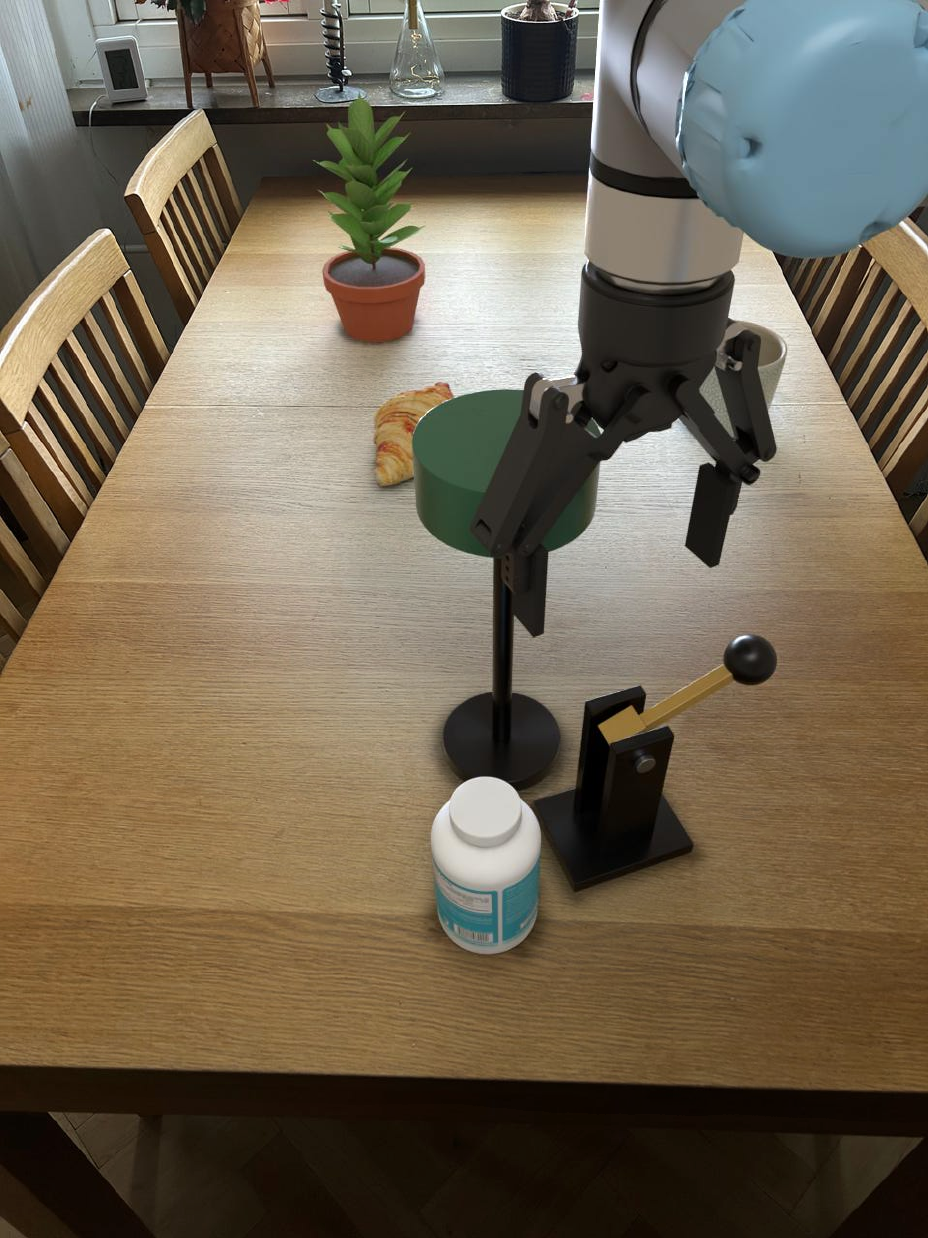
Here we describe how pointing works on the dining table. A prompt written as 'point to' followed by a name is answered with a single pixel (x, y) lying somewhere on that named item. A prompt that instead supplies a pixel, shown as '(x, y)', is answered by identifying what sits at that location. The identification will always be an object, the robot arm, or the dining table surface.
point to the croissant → (402, 430)
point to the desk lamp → (446, 504)
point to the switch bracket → (614, 801)
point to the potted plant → (371, 235)
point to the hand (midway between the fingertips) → (617, 588)
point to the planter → (768, 367)
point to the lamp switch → (700, 687)
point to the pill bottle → (486, 866)
